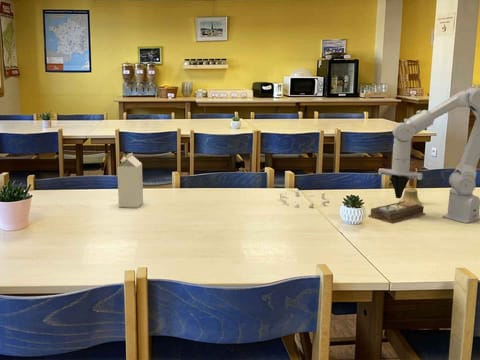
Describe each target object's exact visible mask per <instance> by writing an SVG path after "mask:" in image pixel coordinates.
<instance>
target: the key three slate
mask: <svg viewBox="0 0 480 360" xmlns="http://www.w3.org/2000/svg"><path fill="white" fill-rule="evenodd" d="M379 210H380V211H384V212H387V213H389V212H393V211H396V209H394V208H390V207H383V208H379Z"/></svg>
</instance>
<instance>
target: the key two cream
mask: <svg viewBox="0 0 480 360" xmlns="http://www.w3.org/2000/svg"><path fill="white" fill-rule="evenodd" d="M389 207H390V208H394V209H396V211H397V210H402V209H406V207H405V206H402V205H398V204H396V205H391V206H389Z"/></svg>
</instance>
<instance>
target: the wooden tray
mask: <svg viewBox="0 0 480 360" xmlns="http://www.w3.org/2000/svg"><path fill="white" fill-rule="evenodd" d="M404 202H405V201H403V202H399V201H398V202H396V203H391V204H386V205H382V206H378V207H373V208H370V214H368V217H369V218H372V219H374V220H375V219H376V220H378V221H382V222H386V223H388V224H396V223H400V222H403V221H407V220H411V219H414V218H419V217H423V216H425V215H426V213H425V212H424V210H425V209H424V207H425V206H424V205H422V204H421V205H417V204H416V206H414V207H410V208H406V209H402V210H397V211H393V212H389V213H387V212H384V211H380V210H379V208H383V207H389V206H391V205H396V204H398V205H399V204H400V203H404ZM408 203H409V202H408Z"/></svg>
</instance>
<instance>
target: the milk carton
mask: <svg viewBox="0 0 480 360" xmlns="http://www.w3.org/2000/svg"><path fill="white" fill-rule="evenodd" d="M119 161H120V162H121V163H119V165H118V166H117V171H116V172H117V173H116V174H117V191H118V192H117V196H118V207H119V208H131V209H132V208H137V209H139V207H141V205H143V203H144V187H143V185H144V183H143V163H142V162H141V161H139V159H138V158H136V157H135V156H134V155H133V152H131V153H128V154H127V155H126V156H124V157H123V158H121V159H120V160H119Z"/></svg>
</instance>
